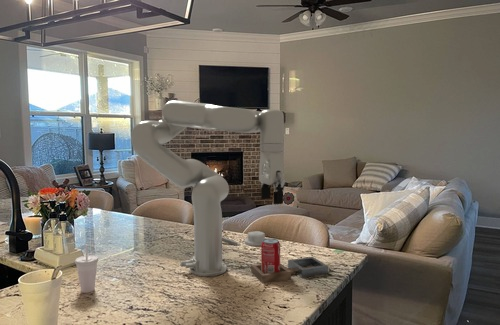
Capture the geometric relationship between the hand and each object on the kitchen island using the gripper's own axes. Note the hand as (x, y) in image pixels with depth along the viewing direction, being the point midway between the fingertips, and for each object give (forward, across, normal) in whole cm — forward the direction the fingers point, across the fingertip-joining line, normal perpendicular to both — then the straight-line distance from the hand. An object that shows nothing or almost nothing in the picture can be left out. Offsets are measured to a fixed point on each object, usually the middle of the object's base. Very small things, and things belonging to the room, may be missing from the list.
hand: (271, 201), depth 122 cm
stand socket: (+25, 0, 0) cm, 25 cm away
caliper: (+25, -42, -6) cm, 50 cm away
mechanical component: (+25, -36, +9) cm, 45 cm away
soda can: (+25, 0, 0) cm, 25 cm away
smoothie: (+25, -9, -56) cm, 62 cm away
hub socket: (+25, 0, +12) cm, 28 cm away
